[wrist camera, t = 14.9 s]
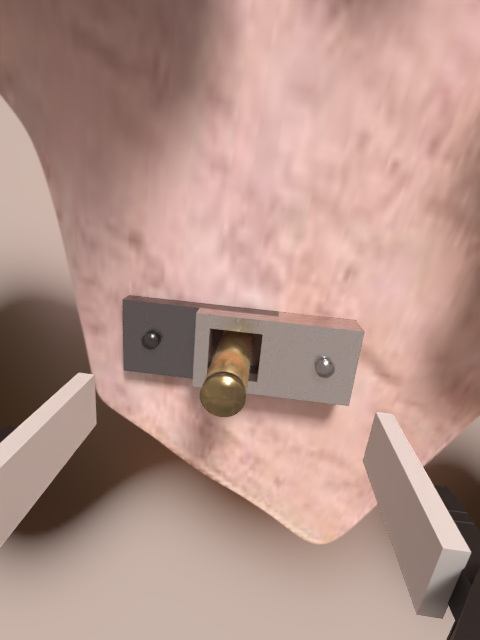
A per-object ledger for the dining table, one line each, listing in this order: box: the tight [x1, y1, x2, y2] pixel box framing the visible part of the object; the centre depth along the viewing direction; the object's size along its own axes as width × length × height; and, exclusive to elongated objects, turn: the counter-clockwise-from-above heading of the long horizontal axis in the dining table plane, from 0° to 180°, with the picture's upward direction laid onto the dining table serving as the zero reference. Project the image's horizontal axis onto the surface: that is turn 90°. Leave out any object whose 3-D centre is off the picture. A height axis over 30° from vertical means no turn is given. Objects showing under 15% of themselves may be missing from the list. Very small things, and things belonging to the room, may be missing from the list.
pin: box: [200, 330, 253, 417], centre depth 37 cm, size 4×4×13 cm
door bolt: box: [123, 295, 364, 406], centre depth 41 cm, size 9×27×5 cm, turn 85°
